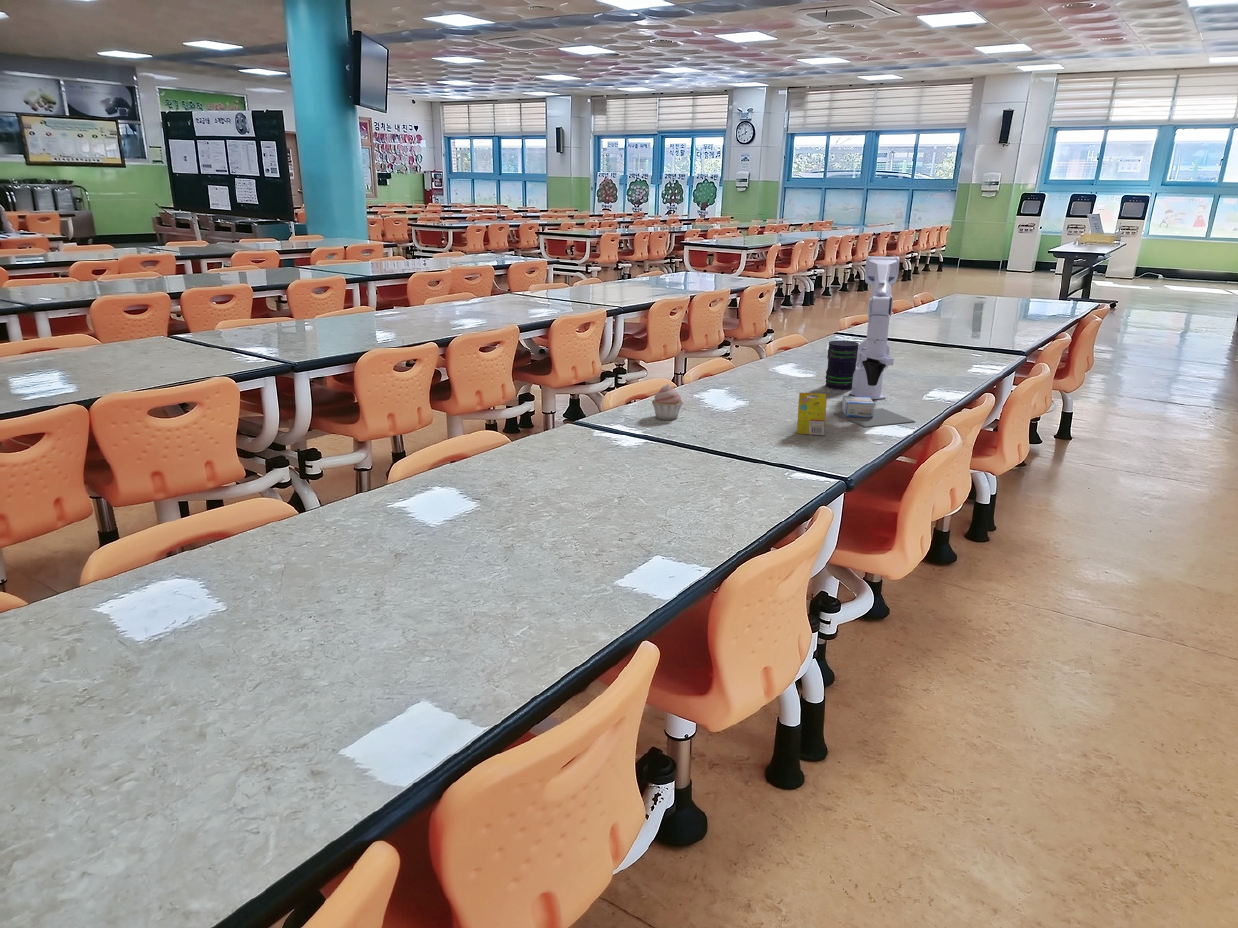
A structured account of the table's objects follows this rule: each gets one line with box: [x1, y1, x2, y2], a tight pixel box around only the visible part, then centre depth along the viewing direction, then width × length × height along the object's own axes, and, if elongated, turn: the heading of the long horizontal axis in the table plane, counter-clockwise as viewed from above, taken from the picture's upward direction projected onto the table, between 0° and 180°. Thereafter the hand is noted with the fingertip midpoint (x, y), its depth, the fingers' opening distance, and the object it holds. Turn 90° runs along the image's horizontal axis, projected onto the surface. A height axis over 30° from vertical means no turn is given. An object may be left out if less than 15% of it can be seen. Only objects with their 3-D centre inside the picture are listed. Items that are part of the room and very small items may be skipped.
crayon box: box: [796, 392, 827, 436], centre depth 226 cm, size 7×3×12 cm, turn 74°
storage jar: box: [824, 339, 860, 391], centre depth 278 cm, size 10×10×15 cm
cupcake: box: [651, 383, 684, 421], centre depth 242 cm, size 9×9×10 cm
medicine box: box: [841, 395, 875, 418], centre depth 245 cm, size 8×4×9 cm
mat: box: [833, 407, 916, 428], centre depth 243 cm, size 16×17×1 cm
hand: (872, 385), depth 242 cm, fingers closed
